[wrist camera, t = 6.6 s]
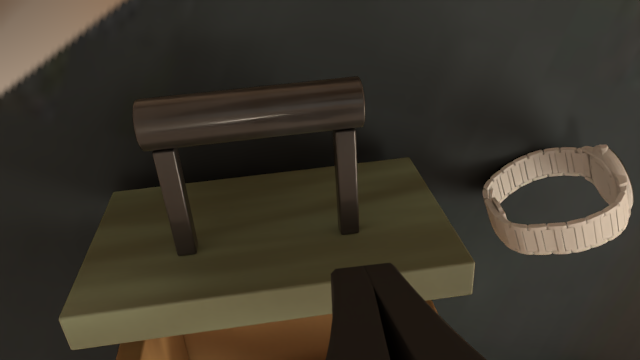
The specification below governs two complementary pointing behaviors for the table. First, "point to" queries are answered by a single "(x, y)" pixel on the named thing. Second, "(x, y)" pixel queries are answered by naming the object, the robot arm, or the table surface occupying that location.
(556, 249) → the wristwatch
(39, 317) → the table surface
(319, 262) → the drawer
